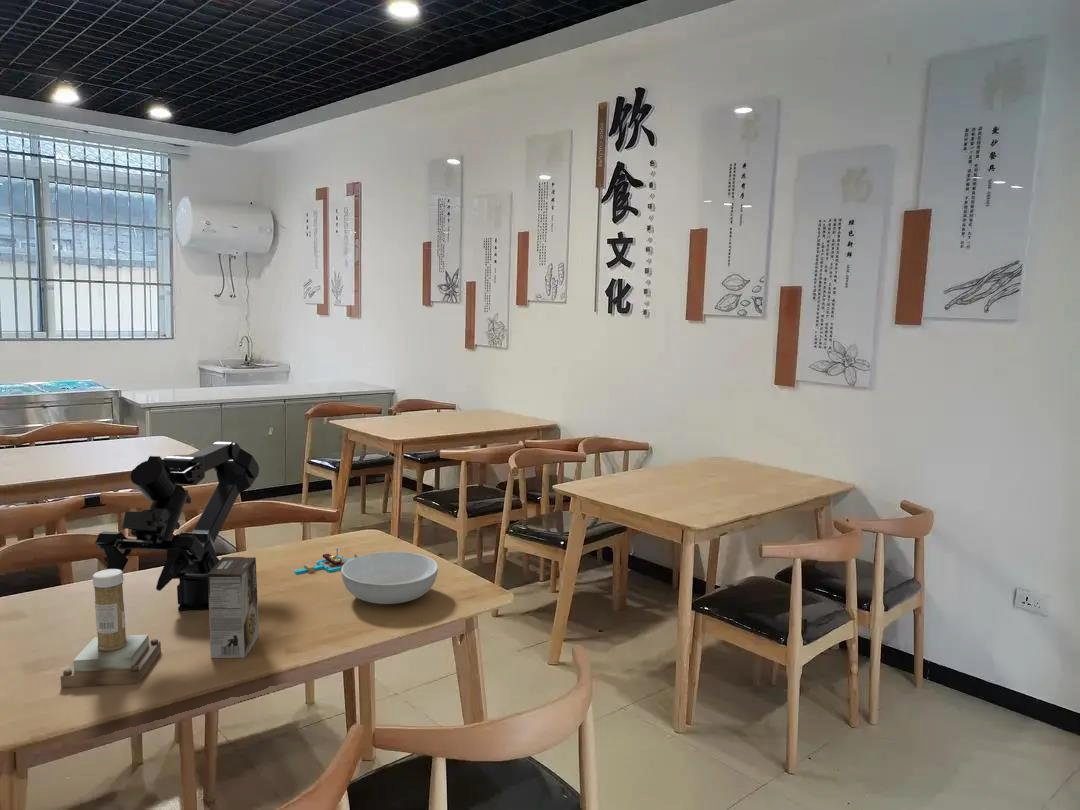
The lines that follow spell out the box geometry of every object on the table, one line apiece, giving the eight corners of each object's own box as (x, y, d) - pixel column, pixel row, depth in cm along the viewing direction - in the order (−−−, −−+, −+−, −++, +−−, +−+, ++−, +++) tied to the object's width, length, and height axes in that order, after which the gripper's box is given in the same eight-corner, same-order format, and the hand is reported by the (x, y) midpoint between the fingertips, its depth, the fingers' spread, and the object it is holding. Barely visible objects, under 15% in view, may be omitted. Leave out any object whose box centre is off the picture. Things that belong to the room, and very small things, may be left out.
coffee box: (225, 637, 148) (222, 556, 146) (259, 636, 149) (257, 555, 147) (209, 659, 139) (205, 573, 137) (245, 658, 140) (243, 572, 138)
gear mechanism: (286, 569, 187) (301, 580, 180) (286, 547, 186) (301, 558, 179) (362, 553, 199) (379, 563, 192) (362, 533, 199) (379, 542, 192)
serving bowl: (371, 624, 156) (371, 591, 155) (324, 593, 171) (324, 563, 170) (456, 599, 169) (456, 569, 168) (406, 572, 185) (406, 545, 184)
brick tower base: (160, 651, 142) (159, 630, 141) (138, 683, 130) (137, 660, 130) (90, 654, 140) (88, 634, 139) (61, 687, 128) (59, 665, 128)
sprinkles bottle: (132, 642, 136) (128, 569, 135) (114, 653, 132) (110, 578, 130) (109, 639, 137) (105, 566, 135) (90, 651, 133) (86, 576, 131)
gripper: (97, 489, 144) (60, 567, 134) (194, 493, 142) (164, 572, 133) (125, 518, 153) (92, 593, 143) (216, 522, 151) (189, 598, 142)
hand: (133, 588), depth 140 cm, fingers open, 9 cm apart
